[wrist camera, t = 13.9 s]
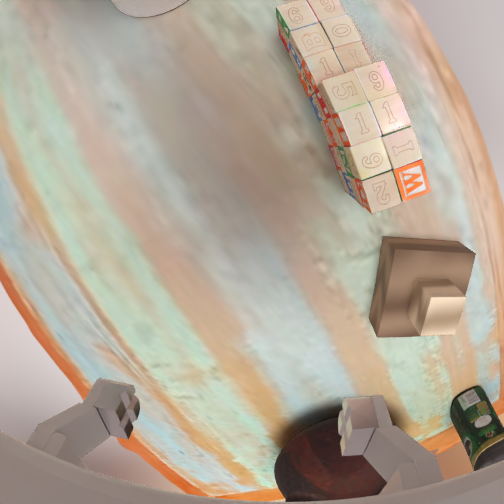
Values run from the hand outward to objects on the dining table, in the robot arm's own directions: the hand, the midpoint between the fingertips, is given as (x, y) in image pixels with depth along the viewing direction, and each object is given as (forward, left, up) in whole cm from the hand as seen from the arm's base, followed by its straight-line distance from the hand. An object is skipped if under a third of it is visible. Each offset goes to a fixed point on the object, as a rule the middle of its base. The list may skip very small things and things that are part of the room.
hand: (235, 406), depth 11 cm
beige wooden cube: (+8, +21, -25) cm, 33 cm away
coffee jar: (+35, +42, -30) cm, 62 cm away
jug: (+42, +16, -30) cm, 54 cm away
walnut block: (+8, +21, -30) cm, 37 cm away
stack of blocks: (-14, +8, -30) cm, 35 cm away
